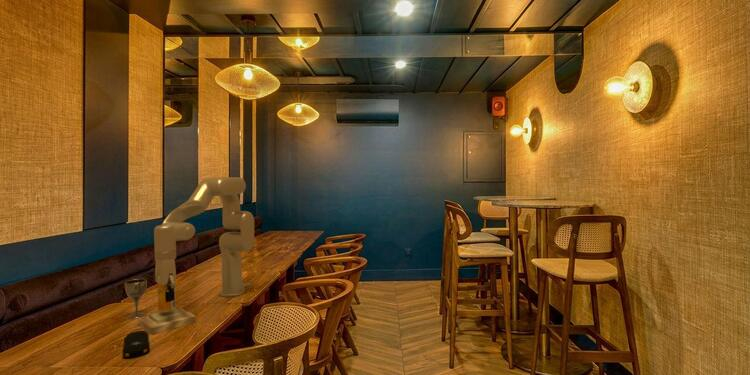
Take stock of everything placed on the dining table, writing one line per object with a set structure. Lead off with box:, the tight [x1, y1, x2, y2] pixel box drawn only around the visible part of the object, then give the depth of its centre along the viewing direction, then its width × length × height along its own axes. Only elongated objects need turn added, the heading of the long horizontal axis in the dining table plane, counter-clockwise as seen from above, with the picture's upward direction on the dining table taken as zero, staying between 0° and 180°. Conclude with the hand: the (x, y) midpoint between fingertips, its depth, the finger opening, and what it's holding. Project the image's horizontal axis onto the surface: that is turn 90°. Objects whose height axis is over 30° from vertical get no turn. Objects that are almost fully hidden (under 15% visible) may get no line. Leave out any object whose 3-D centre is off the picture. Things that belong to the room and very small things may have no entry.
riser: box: [137, 307, 197, 336], centre depth 147 cm, size 16×16×4 cm
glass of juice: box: [157, 276, 177, 313], centre depth 147 cm, size 6×6×15 cm
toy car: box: [122, 328, 150, 359], centre depth 125 cm, size 8×17×5 cm, turn 33°
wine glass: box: [124, 278, 148, 319], centre depth 157 cm, size 8×8×15 cm
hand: (167, 299), depth 147 cm, fingers closed on glass of juice, 6 cm apart
